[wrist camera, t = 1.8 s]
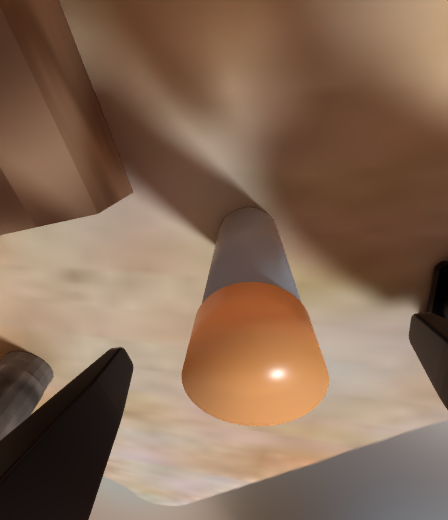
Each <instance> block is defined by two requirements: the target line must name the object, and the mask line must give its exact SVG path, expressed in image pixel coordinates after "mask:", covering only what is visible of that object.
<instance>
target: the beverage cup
mask: <svg viewBox="0 0 448 520" xmlns="http://www.w3.org/2000/svg"><path fill="white" fill-rule="evenodd" d="M52 378H53V371H52V369H51V368H50V366H49V365H48V364H47V363H46V362H45V361H44V360H42V359H40V358H39V357H37V356H35V355H33V354H30V353H27V352H22V351H13V352H10V353H7V354H6V355H5V356H4V357H3V358H2V359H0V440H1V439H3V438H4V437H5V436H6V435H7V434H9V433H10V432H11V431H12V430H13V429H15V428H16V427H17V426H18V425H19V424H21V423H22V422H23V421H24V420H25V419H27V418H28V417H29V416H30V415H31V413H32V412H33V410H34V408H35V407H36V405H37V404H38V402H39V401H40V399H41V397H42V395H43V393H44V391H45V390H46V388H47V386H48V384H49V383H50V382H51V380H52Z"/></svg>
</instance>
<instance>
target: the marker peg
mask: <svg viewBox="0 0 448 520" xmlns="http://www.w3.org/2000/svg"><path fill="white" fill-rule="evenodd" d="M182 383H183V387H184V389H185V391H186V393H187V395H188V397H189V398H190V399H191V400H192V402H193V403H195V404H196V405H197V406H198V407H199V408H200V409H202V410H203V411H205V412H206V413H208V414H210V415H212V416H214V417H216V418H218V419H221V420H223V421H227V422H230V423H235V424H239V425H247V426H269V425H276V424H282V423H285V422H289V421H292V420H295V419H297V418H299V417H302V416H304V415H305V414H307V413H309V412H310V411H311V410H313V409H314V408H315V407H316V406H317V405H318V404H319V403H320V402H321V401H322V399H323V398H324V396H325V394H326V392H327V389H328V385H329V376H328V371H327V368H326V365H325V362H324V359H323V356H322V353H321V350H320V347H319V344H318V341H317V338H316V335H315V333H314V330H313V327H312V324H311V321H310V318H309V315H308V312H307V310H306V309H305V307H304V305H303V304H302V303H301V301H300V298H299V294H298V291H297V288H296V285H295V282H294V279H293V276H292V273H291V270H290V267H289V264H288V260H287V257H286V254H285V251H284V248H283V245H282V242H281V239H280V236H279V233H278V229H277V226H276V224H275V222H274V220H273V219H272V218H271V217H270V216H269V215H268V214H267V213H266V212H264V211H262V210H260V209H257V208H251V207H246V208H241V209H237V210H235V211H233V212H231V213H230V214H229V215H228V216H227V217H226V218H225V219H224V220H223V222H222V223H221V226H220V229H219V233H218V237H217V242H216V246H215V250H214V254H213V259H212V263H211V267H210V271H209V276H208V280H207V284H206V288H205V293H204V297H203V301H202V304H201V306H200V308H199V309H198V312H197V314H196V318H195V322H194V326H193V330H192V334H191V338H190V342H189V346H188V350H187V354H186V358H185V362H184V366H183V370H182Z"/></svg>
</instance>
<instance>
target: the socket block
mask: <svg viewBox="0 0 448 520" xmlns="http://www.w3.org/2000/svg"><path fill="white" fill-rule="evenodd" d="M131 193H133V190H132V188H131V185H130V183H129V180H128V177H127V175H126V172H125V170H124V167H123V165H122V162H121V159H120V157H119V154H118V152H117V149H116V147H115V144H114V141H113V139H112V136H111V134H110V131H109V129H108V126H107V123H106V121H105V118H104V116H103V113H102V111H101V108H100V105H99V103H98V100H97V98H96V95H95V93H94V90H93V88H92V85H91V82H90V80H89V77H88V75H87V72H86V70H85V67H84V64H83V62H82V59H81V57H80V54H79V52H78V49H77V46H76V44H75V41H74V39H73V36H72V34H71V31H70V28H69V26H68V23H67V21H66V18H65V16H64V13H63V10H62V8H61V5H60V3H59V0H0V235H3V234H7V233H12V232H16V231H21V230H26V229H30V228H35V227H39V226H44V225H48V224H53V223H58V222H62V221H67V220H71V219H76V218H81V217H85V216H90V215H94V214H98V213H100V212H102V211H103V210H105V209H107V208H108V207H110V206H111V205H113V204H115V203H116V202H118V201H120V200H121V199H123V198H125V197H126V196H128V195H130V194H131Z"/></svg>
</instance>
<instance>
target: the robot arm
mask: <svg viewBox="0 0 448 520" xmlns="http://www.w3.org/2000/svg"><path fill="white" fill-rule="evenodd" d="M447 268H448V260H447V261H443V262H441V263H439V264H438V265H437V266H436V267H435V270H434V275H433V281H432V286H431V292H430V297H429V303H428V308H427V312H426V313H417V314H413V316H412V318H411V323H410V330H409V340H410V343H411V345H412V347H413V349H414V351H415V352H416V354H417V356H418V358H419V360H420V362H421V364H422V366H423V368H424V369H425V371H426V373H427V375H428V377H429V379H430V381H431V383H432V385H433V387H434V388H435V390H436V392H437V394H438V396H439V397H440V399H441V400H442V402H443V404H444V405H445V407H446V408H447V410H448V269H447ZM445 269H447V270H446V271H444V270H445ZM132 373H133V363H132V361H131V359H130V358H129V356H128V354H127V352H126V350H125V349H124V348H122V347H118V348H112V349H110V350H108V351H107V352H106V353H105V354H103V355H102V356H101V357H100V358H99V359H97V360H96V361H95V362H94V363H93V364H91V365H90V366H89V367H88V368H87V369H85V370H84V371H83V372H82V373H81V374H79V375H78V376H77V377H76V378H75V379H73V380H72V381H71V382H70V383H69V384H67V385H66V386H65V387H64V388H63V389H61V390H60V391H59V392H58V393H57V394H55V395H54V396H53V397H52V398H51V399H49V400H48V401H47V402H46V403H45V404H43V405H42V406H41V407H40V408H39V409H37V410H36V411H35V412H34V413H33V414H31V415H30V416H29V417H28V418H27V419H25V420H24V421H23V422H22V423H21V424H19V425H18V426H17V427H16V428H15V429H13V430H12V431H11V432H10V433H9V434H7V435H6V436H5V437H4V438H3V439H1V440H0V520H88V519H89V516H90V513H91V510H92V507H93V504H94V501H95V498H96V495H97V492H98V489H99V486H100V483H101V480H102V477H103V474H104V471H105V468H106V465H107V462H108V459H109V456H110V453H111V450H112V447H113V443H114V440H115V437H116V434H117V431H118V428H119V425H120V422H121V419H122V415H123V411H124V408H125V403H126V399H127V395H128V390H129V386H130V382H131V377H132Z"/></svg>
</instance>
